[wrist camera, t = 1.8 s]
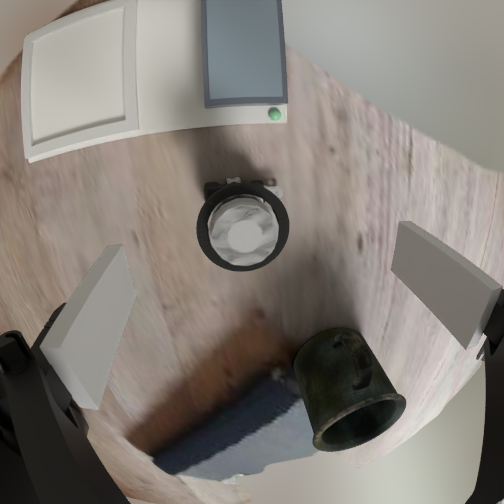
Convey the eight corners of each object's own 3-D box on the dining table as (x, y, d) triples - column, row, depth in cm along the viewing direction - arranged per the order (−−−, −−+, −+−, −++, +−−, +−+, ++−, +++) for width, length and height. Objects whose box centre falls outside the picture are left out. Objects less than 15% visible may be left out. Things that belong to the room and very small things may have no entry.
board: (33, 162, 20) (26, 164, 19) (31, 35, 14) (25, 33, 13) (284, 123, 22) (288, 122, 21) (276, -14, 16) (279, -20, 15)
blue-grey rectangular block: (205, 108, 20) (204, 106, 18) (201, -5, 15) (200, -18, 13) (280, 105, 21) (288, 103, 18) (273, -6, 16) (279, -19, 14)
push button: (277, 160, 23) (316, 182, 14) (279, 218, 26) (315, 270, 17) (199, 167, 23) (189, 194, 14) (206, 226, 25) (202, 284, 16)
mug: (290, 389, 37) (311, 460, 26) (284, 311, 30) (316, 399, 20) (360, 370, 37) (393, 432, 26) (373, 291, 31) (428, 359, 20)
